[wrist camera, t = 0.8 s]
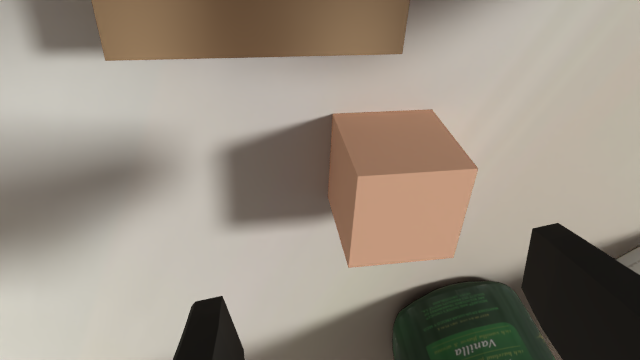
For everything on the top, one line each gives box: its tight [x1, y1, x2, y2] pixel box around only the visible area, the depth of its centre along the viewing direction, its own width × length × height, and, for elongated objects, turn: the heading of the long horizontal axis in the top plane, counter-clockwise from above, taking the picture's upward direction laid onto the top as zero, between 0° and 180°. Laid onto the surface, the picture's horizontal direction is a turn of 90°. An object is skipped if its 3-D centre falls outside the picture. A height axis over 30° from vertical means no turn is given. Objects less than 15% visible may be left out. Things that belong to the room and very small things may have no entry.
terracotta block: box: [328, 110, 478, 268], centre depth 19 cm, size 4×4×4 cm
